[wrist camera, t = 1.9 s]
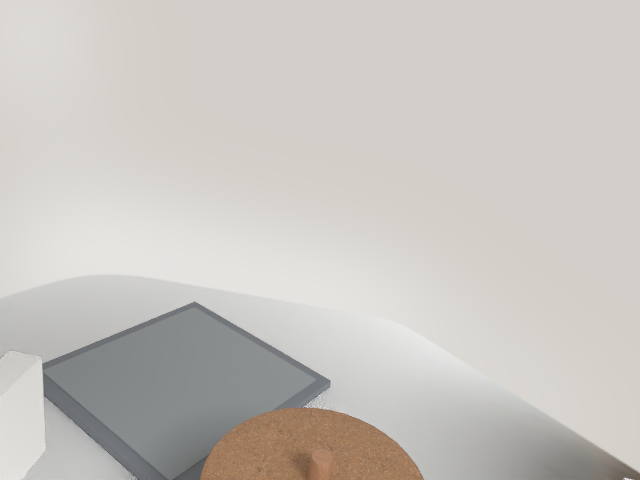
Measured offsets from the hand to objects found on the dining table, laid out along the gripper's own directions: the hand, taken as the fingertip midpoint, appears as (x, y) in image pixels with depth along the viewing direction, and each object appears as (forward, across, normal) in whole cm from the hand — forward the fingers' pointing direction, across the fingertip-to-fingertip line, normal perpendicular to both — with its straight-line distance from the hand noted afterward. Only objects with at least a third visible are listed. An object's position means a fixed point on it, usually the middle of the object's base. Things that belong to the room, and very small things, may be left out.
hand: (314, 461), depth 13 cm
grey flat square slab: (+24, -11, -18) cm, 32 cm away
